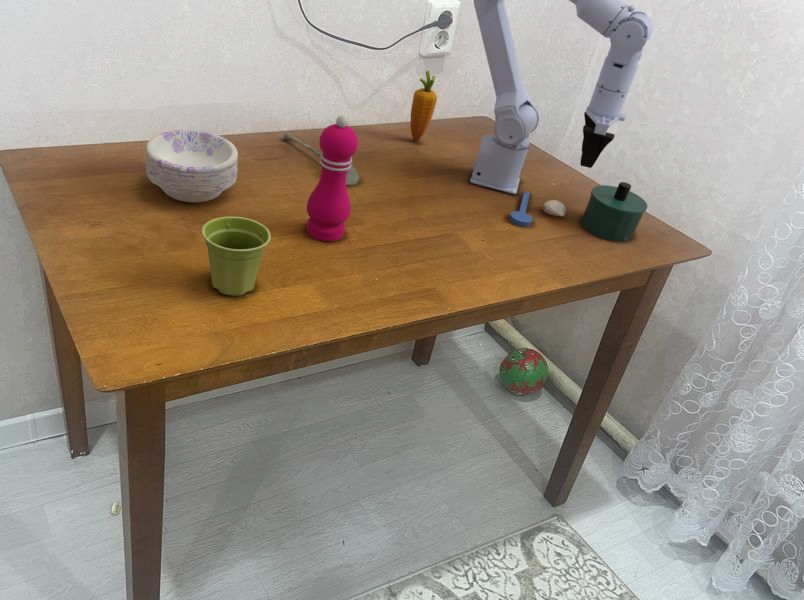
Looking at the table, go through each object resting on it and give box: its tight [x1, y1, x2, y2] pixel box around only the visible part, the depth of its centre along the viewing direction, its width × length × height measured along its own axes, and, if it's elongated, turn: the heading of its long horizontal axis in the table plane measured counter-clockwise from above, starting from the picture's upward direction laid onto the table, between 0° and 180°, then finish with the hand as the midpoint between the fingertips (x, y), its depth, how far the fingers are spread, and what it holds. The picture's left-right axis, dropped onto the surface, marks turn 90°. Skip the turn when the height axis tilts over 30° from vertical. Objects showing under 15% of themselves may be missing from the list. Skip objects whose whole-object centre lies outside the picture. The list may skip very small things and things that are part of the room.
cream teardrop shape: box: [542, 199, 566, 217], centre depth 137 cm, size 4×5×2 cm
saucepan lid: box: [590, 181, 648, 214], centre depth 133 cm, size 10×10×4 cm
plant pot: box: [201, 215, 272, 297], centre depth 101 cm, size 9×9×9 cm
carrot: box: [409, 70, 438, 143], centre depth 152 cm, size 5×5×15 cm
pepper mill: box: [306, 115, 359, 242], centre depth 114 cm, size 7×7×20 cm
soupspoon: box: [282, 131, 361, 186], centre depth 140 cm, size 22×3×7 cm
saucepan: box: [581, 194, 644, 242], centre depth 135 cm, size 10×10×6 cm
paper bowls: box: [145, 129, 239, 203], centre depth 122 cm, size 15×15×8 cm
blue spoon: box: [508, 190, 533, 227], centre depth 138 cm, size 4×15×1 cm, turn 163°
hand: (586, 159), depth 135 cm, fingers open, 7 cm apart
